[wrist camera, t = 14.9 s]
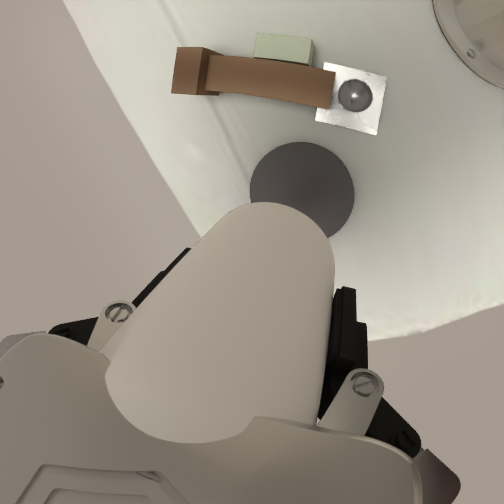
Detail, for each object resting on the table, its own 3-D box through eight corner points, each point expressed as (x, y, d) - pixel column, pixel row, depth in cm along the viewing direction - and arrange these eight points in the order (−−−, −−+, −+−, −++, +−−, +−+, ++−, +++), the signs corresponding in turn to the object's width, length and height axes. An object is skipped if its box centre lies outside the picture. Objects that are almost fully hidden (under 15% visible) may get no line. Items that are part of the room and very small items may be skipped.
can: (187, 244, 16) (29, 422, 6) (278, 170, 13) (80, 414, 3) (263, 327, 17) (182, 523, 7) (360, 277, 14) (342, 543, 4)
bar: (328, 114, 21) (327, 115, 17) (196, 93, 23) (171, 93, 19) (336, 71, 19) (336, 63, 15) (202, 54, 21) (177, 47, 17)
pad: (364, 156, 23) (364, 157, 22) (339, 251, 27) (339, 253, 27) (258, 133, 24) (256, 134, 24) (245, 228, 29) (244, 230, 28)
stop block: (314, 46, 19) (311, 38, 17) (311, 68, 20) (307, 63, 18) (265, 40, 20) (256, 32, 17) (262, 62, 21) (253, 56, 18)
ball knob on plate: (385, 77, 19) (399, 70, 14) (375, 134, 21) (386, 142, 17) (324, 63, 20) (321, 51, 15) (315, 120, 22) (310, 123, 18)
